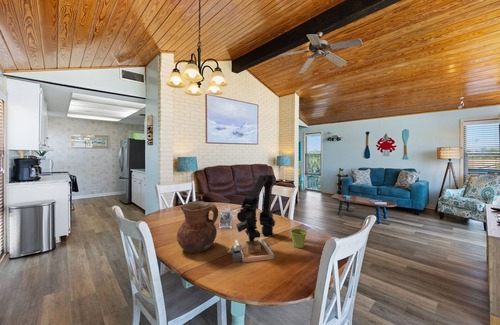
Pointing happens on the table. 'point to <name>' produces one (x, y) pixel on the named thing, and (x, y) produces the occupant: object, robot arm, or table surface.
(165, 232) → the table surface
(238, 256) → the winch
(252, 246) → the crate
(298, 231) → the plant pot
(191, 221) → the jug
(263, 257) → the bay
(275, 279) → the table surface
